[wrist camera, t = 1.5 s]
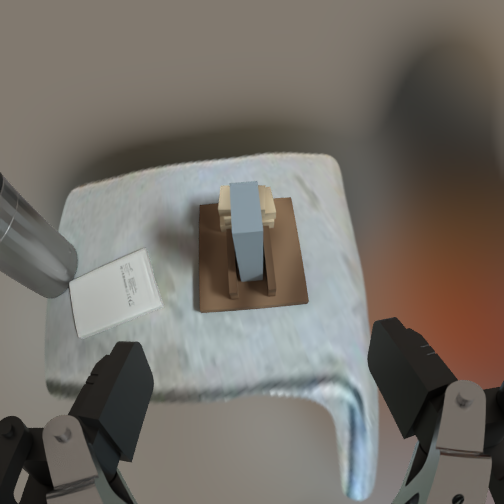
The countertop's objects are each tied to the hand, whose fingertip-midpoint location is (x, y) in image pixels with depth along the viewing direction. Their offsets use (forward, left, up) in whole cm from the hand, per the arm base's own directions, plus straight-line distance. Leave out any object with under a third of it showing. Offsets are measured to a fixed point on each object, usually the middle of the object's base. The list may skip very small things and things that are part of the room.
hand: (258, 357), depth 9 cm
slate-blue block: (0, +13, -20) cm, 24 cm away
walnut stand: (0, +14, -21) cm, 26 cm away
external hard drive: (-18, +10, -22) cm, 30 cm away
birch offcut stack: (0, +19, -20) cm, 28 cm away
